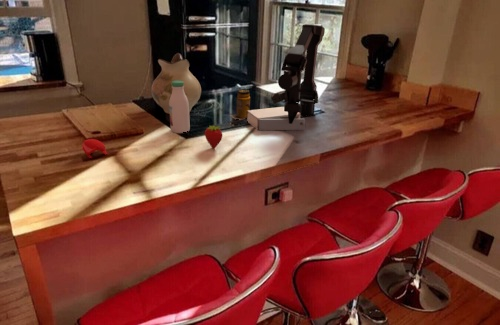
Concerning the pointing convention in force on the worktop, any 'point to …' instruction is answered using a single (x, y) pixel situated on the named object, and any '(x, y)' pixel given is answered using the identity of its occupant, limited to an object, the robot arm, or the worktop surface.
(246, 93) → the condiment
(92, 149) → the cap
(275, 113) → the cabinet
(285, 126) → the door
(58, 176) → the worktop surface
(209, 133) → the strawberry
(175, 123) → the milk bottle
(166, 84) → the pitcher
